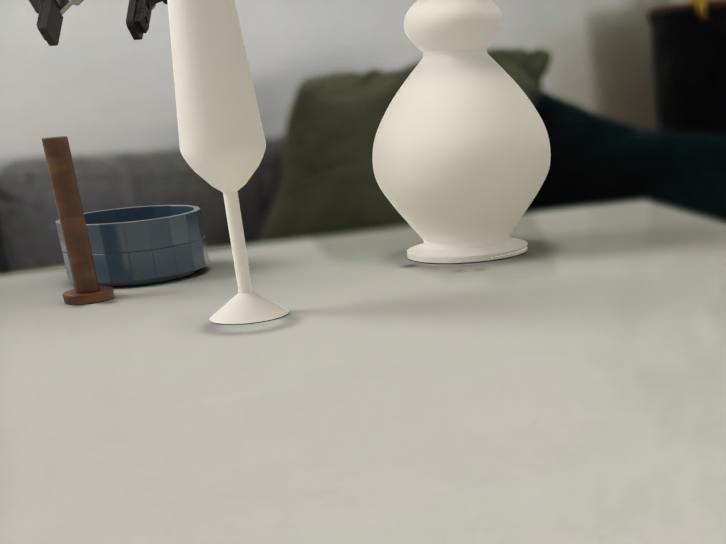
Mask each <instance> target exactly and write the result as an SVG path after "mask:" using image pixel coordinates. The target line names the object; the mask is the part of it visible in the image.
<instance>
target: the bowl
mask: <svg viewBox="0 0 726 544" xmlns="http://www.w3.org/2000/svg"><path fill="white" fill-rule="evenodd" d="M83 213H84V217H85V222H86V227H87V231H88V236H89V241H90V246H91V250H92V255H93V260H94V264H95V269H96V274H97V279H98V283H99V286H109V287H129V286H130V287H131V286H140V285H148V284H156V283H162V282H168V281H173V280H178V279H181V278H185V277H188V276H190V275H193V274H195V273H196V272H197V271H198V270H200V269H201V270H202V269H203V268H205V267H207V266H208V265H209V264H210V257H209V251H208V250H209V249H208V244H207V238H206V233H205V228H204V227H205V226H204V220H203V213H202V209H201V207H199V206H197V205H192V204H155V205H140V206H129V207H117V208H109V209H103V210H102V209H101V210H95V211H89V212H83ZM55 227H56V231H57V235H58V240H59V245H60V249H61V253H62V257H63V261H64V262H63V263H64V267H65V271H66V276H67V279H68V280H70V281H72V282H73V278H72V274H71V269H70V265H69V260H68V256H67V251H66V247H65V242H64V238H63V233H62V229H61V224H60V220H59V219H57V220H55Z"/></svg>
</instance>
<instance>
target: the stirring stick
mask: <svg viewBox="0 0 726 544" xmlns="http://www.w3.org/2000/svg"><path fill="white" fill-rule="evenodd" d="M41 143H42V147H43V152H44V157H45V161H46V165H47V170H48V174H49V178H50V183H51V189H52V192H53V198H54V201H55V202H54V203H55V206H56V210H57V215H58V220H60V224H61V229H62V233H63V238H64V242H65V247H66V251H67V256H68V260H69V265H70V269H71V274H72V278H73V281H72V283H73V288H72V289H69V290H66V291H64V292H62V294H61V295H62V298H63V303H64V304H67V305H87V304H90V305H91V304H96V303H97V304H98V303H102V302H106V301H109V300H112V299H114V298H115V291H114V287H113V286H99V283H98V279H97V274H96V269H95V264H94V260H93V255H92V250H91V246H90V241H89V236H88V231H87V227H86V222H85V217H84V213H85V212H84V209H83V204H82V199H81V194H80V190H79V185H78V179H77V175H76V171H75V166H74V165H75V164H74V161H73V156H72V152H71V147H70V143H69V138H68V136H67V135H66V136H65V135H62V136H61V135H60V136H50V137H43V138H41Z"/></svg>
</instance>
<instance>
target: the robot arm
mask: <svg viewBox="0 0 726 544" xmlns="http://www.w3.org/2000/svg"><path fill="white" fill-rule="evenodd" d="M84 1H85V0H28V2H29V4H30V5H31V7H32V9H33V10H34V12H35V13H36V14H37V20H36V24H35V25H36V28H37V30H38V32H39V33H40V36H42V38H43V40H44V41H46V43H47V44H48V46H49V47H55V46H59V44H60V43H59V42H60V37H61V33H62V32H61V31H62V28H63V27H62V26H63V22H64V16H63V15H64V14H65V13H66V12H67V11H68V10H69V9H70V8H72V6H80V5H81V4H82V3H83V2H84ZM158 3H163V4H164V5H168V3H167V0H128V5H127V12H126V17H125V25H126V27H127V30H128V32H129V34H130V36H131V37H132V39H133V40H134V41H141V40H143V38H144V34H147V33H148V31H149V29H150V23H151V18H152V11H153V10H154V9H155V8H156V6H157V4H158Z"/></svg>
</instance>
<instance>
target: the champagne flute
mask: <svg viewBox="0 0 726 544" xmlns="http://www.w3.org/2000/svg"><path fill="white" fill-rule="evenodd" d="M167 3H168V4H167V15H168V25H169V37H170V38H169V39H170V50H171V60H172V61H171V62H172V72H173V85H174V97H175V109H176V121H177V133H178V144H179V145H178V146H179V151H180V154H181V156H182V158H183V159H184V161H185V162H186V164H187V165H189V168H190V169H191V170H192V171H193V172H194V173H195V174H197V175H198V176H199V177H200V178H201V179H202V180H203V181H205V182H206V183H207V184H208V185H210V186H211V187H212V188H214V189H216V190H218V191H219V192H221V193H222V196H223V197H222V198H223V202H224V209H225V215H226V222H227V228H228V235H229V241H230V246H231V253H232V261H233V266H234V272H235V278H236V285H237V293H236V294H235V295H234V296H233V297H232V298H230V300H228V301H226V303H225V304H224V305H222V306H221V307H220V308H219V309H218V310H217V311H215V312H214V313H213V314H212V315H211V316H209V318H208V320H209V322H211V323H214V324H222V325H240V324H241V325H243V324H244V325H245V324H255V323H262V322H266V321H271V320H275V319H278V318H282V317H284V316H286V315H288V314H289V312H290V310H289V309H287V308H285V307H283V306H281V305H280V304H278V303H276V302H274V301H272V300H270V299H268V298H266V297H265V296H263V295H261V294H259V293H258V292H255V291H254V290H253V284H252V278H251V271H250V264H249V258H248V251H247V245H246V238H245V237H246V236H245V232H244V223H243V218H242V212H241V205H240V198H239V192H238V191H240V190H241V189H242V188H243V187H244V186H245V185H247V183H248V182H249V181H250V179H251V178H252V176H253V175H254V173H255V172H256V171H257V169H258V168H259V167H260V164H261V162H262V160H263V158H264V155H265V153H266V149H267V140H266V136H265V132H264V128H263V122H262V117H261V114H260V113H261V112H260V109H259V105H258V99H257V97H256V91H255V87H254V82H253V78H252V74H251V68H250V64H249V59H248V55H247V51H246V45H245V42H244V38H243V33H242V27H241V24H240V20H239V15H238V10H237V5H236V1H235V0H167Z"/></svg>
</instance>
